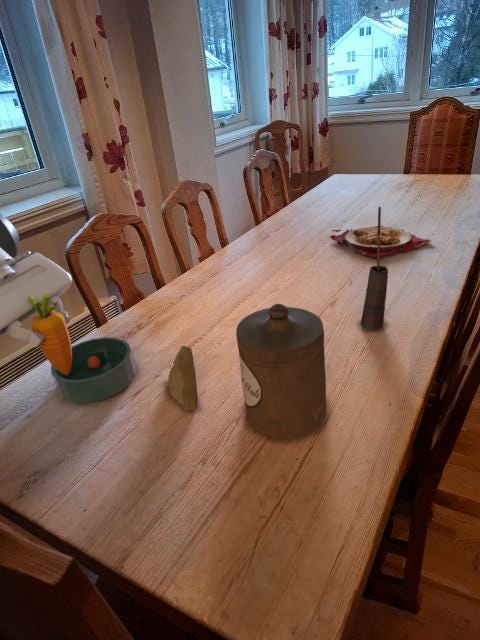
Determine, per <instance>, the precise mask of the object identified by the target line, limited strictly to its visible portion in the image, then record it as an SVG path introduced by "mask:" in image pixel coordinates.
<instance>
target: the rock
mask: <svg viewBox="0 0 480 640" xmlns="http://www.w3.org/2000/svg"><path fill="white" fill-rule="evenodd" d="M193 355H194V354H193V350H192V348H191V347H189V346H186V345H182V346H181V347H180V348H179V350H178V352H177V354H176V356H175V359H174V361H173V365H172V367H171V368H170V371H169V374H168V377H167V378H168V380H167V382H166V384H167V386H168V390H169V394H170V395H171V396H172V398H173V399H174V400H176V401H177V403H179V404H180V405H182V407H183V410H184V411H185V412H189V411H194V410H196V409H198V401H199V400H198V391H197V389H198V387H197V385H198V384H197V377H196V368H195V363H194V356H193Z"/></svg>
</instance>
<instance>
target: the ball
mask: <svg viewBox="0 0 480 640" xmlns="http://www.w3.org/2000/svg"><path fill="white" fill-rule="evenodd" d="M87 365H88V366H89V367H90V368H91V369H97V368H98V367H99V366H100V365H101V360H100V358H99V357H97V356H91V357H90V358H89V359H88V361H87Z"/></svg>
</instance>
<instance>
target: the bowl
mask: <svg viewBox="0 0 480 640" xmlns="http://www.w3.org/2000/svg"><path fill="white" fill-rule="evenodd" d="M71 348H72V364H71V370H70V373H69V374H68V375H65V374H62V373H61V372H60V371H58V370H57V369H56V368H55V367H54V366H53V365H52V364H51V366H50V374H51V377H52V379H53V381H54V383H55V386H56V389H57V391H58V394H59V395H60V396H61V397H62V399H63V400H66V401H68V402H71V403H75V404H88V403H89V404H90V403H95V402H100V401H103V400H106V399H109V398H111V397H113V396H115V395H117V394H119V393H120V392H122V391H123V390H124V389H126V388H127V387H128V386H129V385H130V384H131V383H132V382H133V380H134V378H135V377H136V374H137V365H136V363H135V359H134V355H133V351H132V348H131V346H130V344H129V343H128V342H127V341H126V340H124V339H123V338H118V337H110V336H108V337H107V336H104V337H96V338H91V339H87V340H84V341H82V342H79V343H75V344H74V345H71ZM91 356H97V357H99V358H100V360H101V365H100V366H99V367H98V368H97V369H91V368H90V367H89V366H88V365H87V361H88V359H89V358H90V357H91Z"/></svg>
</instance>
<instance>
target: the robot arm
mask: <svg viewBox="0 0 480 640" xmlns="http://www.w3.org/2000/svg"><path fill="white" fill-rule="evenodd" d="M19 236H20V235H19V232H18V231H17V229H16V227H15V226H14V225H13V223H12V222H11V221H10V220H9V219H8V218H6V217H5V216H4V215H3V214H1V213H0V337H2V336H3V335H5V334H8V336H10V337H11V338H13V339H17V340H20V341H21V340H22V341H25V342H26V341H27V342H28V343H29V344H30V345H32V346H33V347H34V348H37V347H40V346H39V345H40V344H41V343H42V342H43V341H44V340H45V338H46V337H45V335H44V334H41V332H40V331H39V330H38V329H37V330H36V331H34V332H33V330H30V329H27V328H24V327H23V324H22V323H23V322H24V321H26V319H28V318H30V317H31V316H33V315H34V314H36V313H38V312H37V310H36V309H35V307H34V305H33V303H32V302H31V301H30V300H29V299H28V297H29V296H31V295H32V296H33V297H34V298H35V300H37V301H38V303H39V306H40V307H41V304H42V297H43V295H44V294H50V296H49V302H48V306H47V307H48V308H49V306H51V305H54V308H53V310H52V311H55V312H59V313H62V314H63V316H64V318H65V321H66V325H68V324H69V323H70V321H71V320H72V316H71V315H70V314H69V313H68V312H67V311H66V310H65V308H64V305H63V303H62V300H61V299H60V297H61V296H62V295H65V294H66V293H67V292H68V290H69V288H70V287H71V285H72V283H73V278H72V275H71V274H70V273H69V272H68V271H66V270H65V269H64V268H63V267H61V266H60V265H58V264H57V263H55V262H54V261H52V260H51V259H50V258H48V257H46V256H45V255H42V254H41V253H39V252H34V251H30V250H29V251H28V250H26V251H23V252H21V253H20V254H18V251H19V245H20V237H19ZM41 309H42V308H41Z"/></svg>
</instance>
